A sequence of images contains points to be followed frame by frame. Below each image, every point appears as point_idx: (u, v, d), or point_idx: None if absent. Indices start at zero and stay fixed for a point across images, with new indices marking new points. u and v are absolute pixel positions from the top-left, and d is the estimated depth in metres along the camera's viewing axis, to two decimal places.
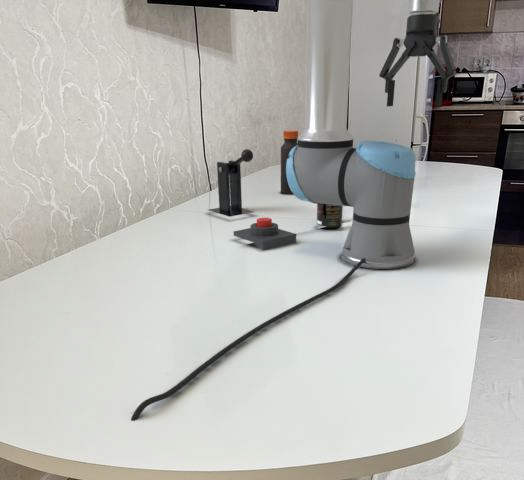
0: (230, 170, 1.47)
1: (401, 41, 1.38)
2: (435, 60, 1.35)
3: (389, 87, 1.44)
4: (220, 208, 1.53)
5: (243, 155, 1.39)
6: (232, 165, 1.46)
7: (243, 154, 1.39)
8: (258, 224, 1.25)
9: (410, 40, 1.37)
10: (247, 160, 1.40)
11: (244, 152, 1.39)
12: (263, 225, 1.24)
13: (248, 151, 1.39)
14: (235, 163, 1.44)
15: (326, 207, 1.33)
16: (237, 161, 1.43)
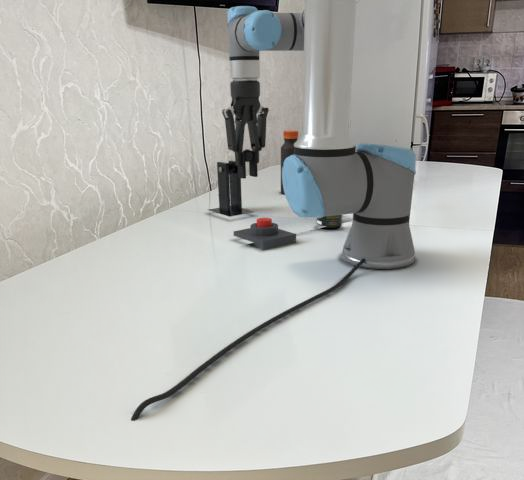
0: (230, 170, 1.47)
1: (232, 109, 1.32)
2: (256, 130, 1.38)
3: (244, 159, 1.38)
4: (220, 208, 1.53)
5: None
6: (232, 165, 1.46)
7: None
8: (258, 224, 1.25)
9: (241, 104, 1.32)
10: (247, 160, 1.40)
11: (244, 152, 1.39)
12: (263, 225, 1.24)
13: (248, 151, 1.39)
14: None
15: None
16: None
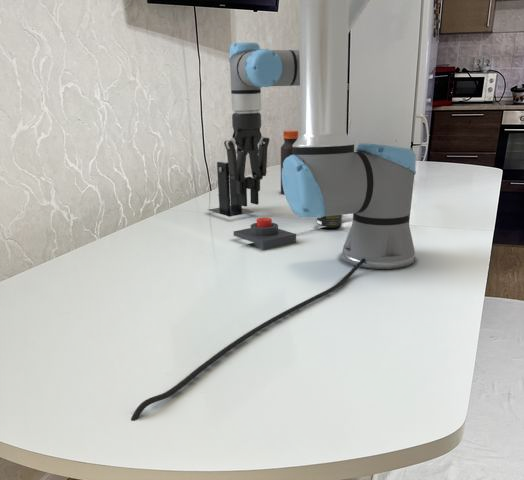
0: None
1: (233, 140, 1.35)
2: (257, 159, 1.41)
3: (245, 188, 1.42)
4: (220, 208, 1.53)
5: None
6: None
7: None
8: (258, 224, 1.25)
9: (242, 136, 1.36)
10: (247, 188, 1.43)
11: (247, 182, 1.41)
12: (263, 225, 1.24)
13: (251, 182, 1.41)
14: None
15: None
16: None
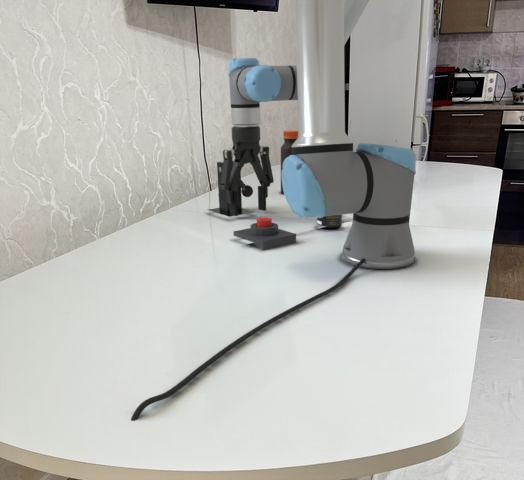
0: None
1: (232, 151, 1.37)
2: (261, 169, 1.43)
3: (236, 198, 1.41)
4: (220, 208, 1.53)
5: (243, 192, 1.44)
6: None
7: (244, 192, 1.43)
8: (258, 224, 1.25)
9: (242, 149, 1.37)
10: None
11: (245, 191, 1.43)
12: (263, 225, 1.24)
13: (249, 192, 1.43)
14: None
15: None
16: (237, 181, 1.46)
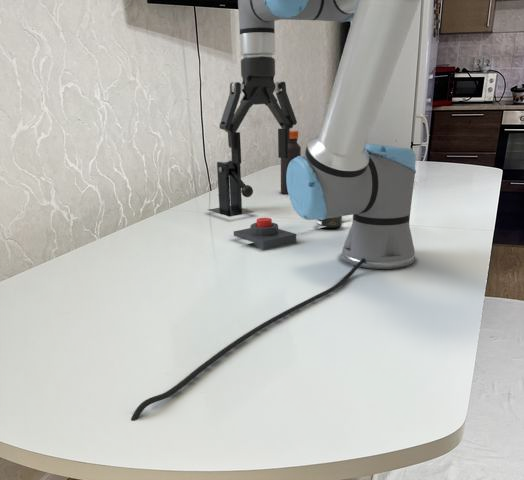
0: None
1: (242, 86, 1.13)
2: (279, 108, 1.20)
3: (239, 141, 1.16)
4: (220, 208, 1.53)
5: (243, 192, 1.44)
6: (232, 175, 1.47)
7: (244, 192, 1.43)
8: (258, 224, 1.25)
9: (253, 85, 1.14)
10: None
11: (245, 191, 1.43)
12: (263, 225, 1.24)
13: (249, 192, 1.43)
14: (235, 179, 1.46)
15: None
16: (237, 181, 1.46)
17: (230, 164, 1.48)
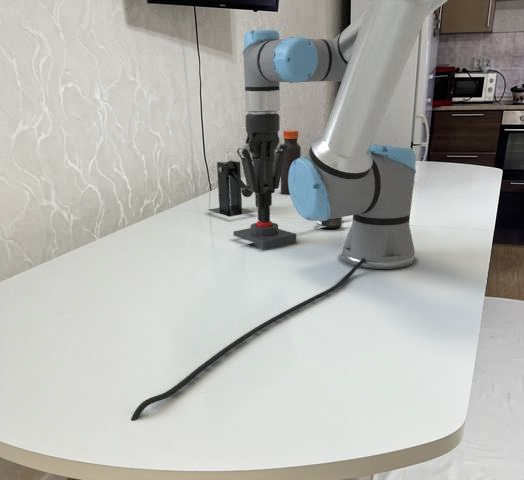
0: None
1: (247, 147, 1.15)
2: (271, 169, 1.20)
3: (265, 201, 1.22)
4: (220, 208, 1.53)
5: (243, 192, 1.44)
6: (232, 175, 1.47)
7: (244, 192, 1.43)
8: None
9: (258, 141, 1.15)
10: None
11: (245, 191, 1.43)
12: None
13: (249, 192, 1.43)
14: (235, 179, 1.46)
15: None
16: (237, 181, 1.46)
17: (230, 164, 1.48)
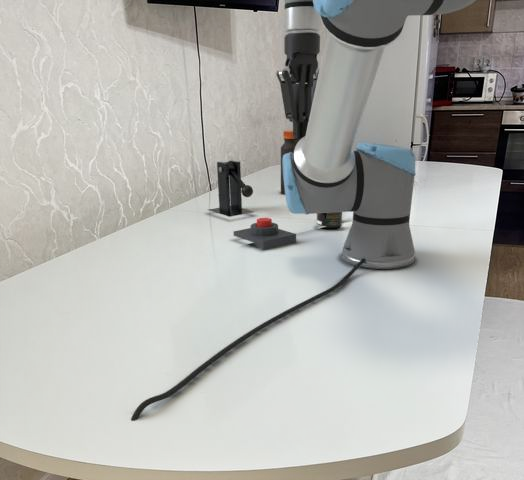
0: None
1: (288, 69, 1.10)
2: (310, 96, 1.15)
3: (304, 130, 1.17)
4: (220, 208, 1.53)
5: (243, 192, 1.44)
6: (232, 175, 1.47)
7: (244, 192, 1.43)
8: (258, 224, 1.25)
9: (298, 63, 1.10)
10: None
11: (245, 191, 1.43)
12: (263, 225, 1.24)
13: (249, 192, 1.43)
14: (235, 179, 1.46)
15: None
16: (237, 181, 1.46)
17: (230, 164, 1.48)
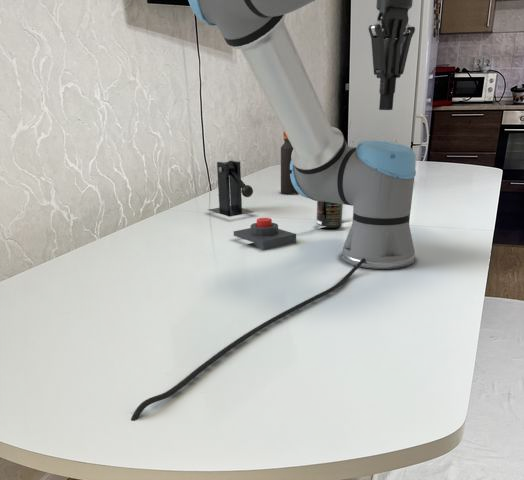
0: None
1: (380, 23, 1.11)
2: (399, 51, 1.17)
3: (391, 87, 1.18)
4: (220, 208, 1.53)
5: (243, 192, 1.44)
6: (232, 175, 1.47)
7: (244, 192, 1.43)
8: (258, 224, 1.25)
9: (390, 17, 1.12)
10: None
11: (245, 191, 1.43)
12: (263, 225, 1.24)
13: (249, 192, 1.43)
14: (235, 179, 1.46)
15: (326, 207, 1.33)
16: (237, 181, 1.46)
17: (230, 164, 1.48)
